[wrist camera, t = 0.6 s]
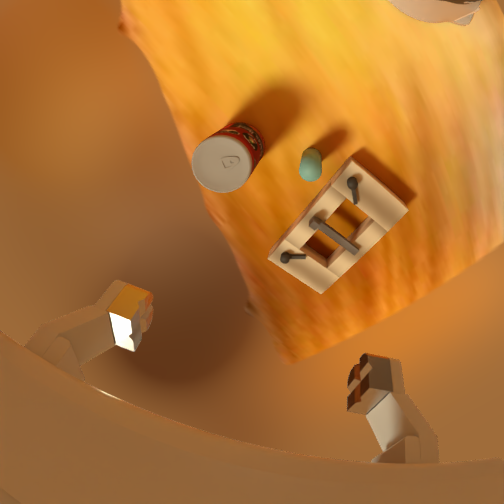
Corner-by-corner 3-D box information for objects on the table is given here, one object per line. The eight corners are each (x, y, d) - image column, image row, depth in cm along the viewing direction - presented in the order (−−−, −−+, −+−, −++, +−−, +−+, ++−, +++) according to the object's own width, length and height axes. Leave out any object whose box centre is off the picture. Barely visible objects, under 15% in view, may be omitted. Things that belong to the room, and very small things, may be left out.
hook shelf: (350, 155, 44) (353, 165, 40) (404, 202, 46) (412, 216, 42) (270, 249, 56) (265, 266, 52) (321, 284, 58) (320, 302, 54)
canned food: (275, 150, 46) (263, 172, 37) (235, 176, 50) (215, 204, 41) (245, 111, 44) (225, 123, 35) (207, 140, 47) (179, 159, 38)
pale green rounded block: (309, 144, 45) (307, 155, 39) (325, 155, 45) (326, 169, 39) (298, 158, 46) (294, 172, 40) (313, 170, 47) (312, 185, 41)
